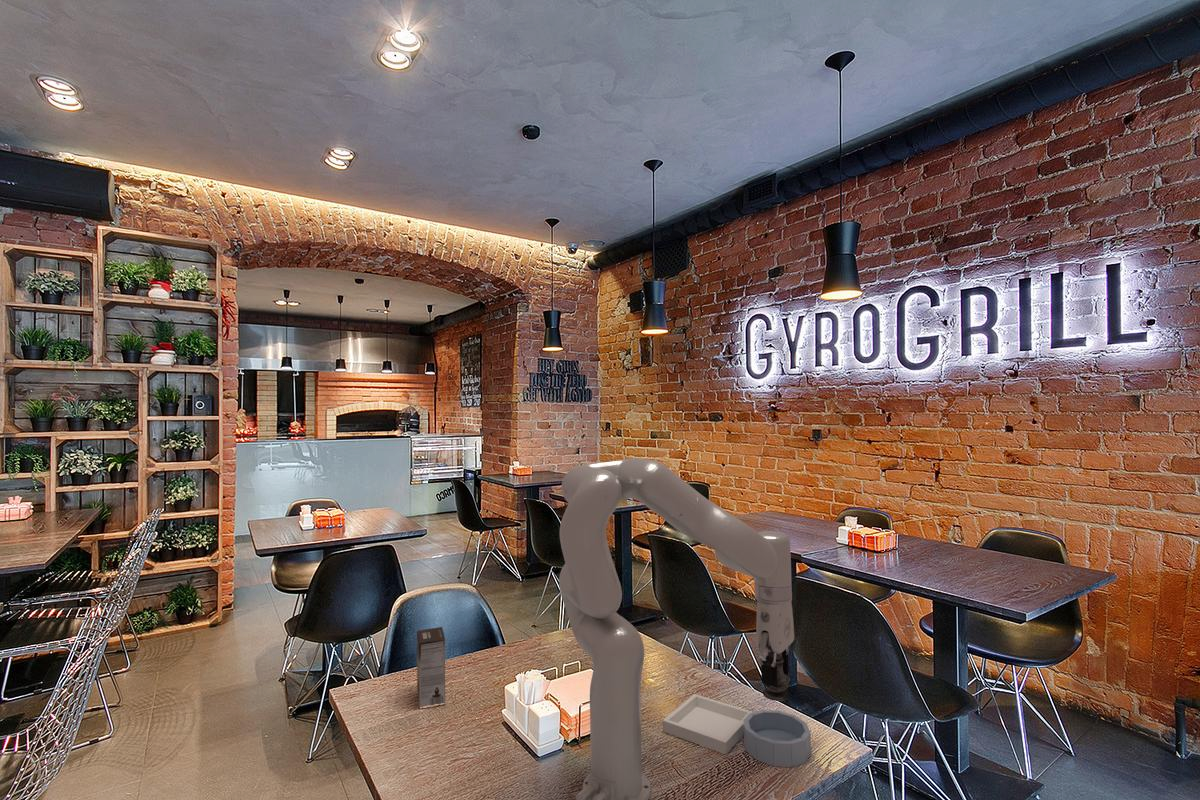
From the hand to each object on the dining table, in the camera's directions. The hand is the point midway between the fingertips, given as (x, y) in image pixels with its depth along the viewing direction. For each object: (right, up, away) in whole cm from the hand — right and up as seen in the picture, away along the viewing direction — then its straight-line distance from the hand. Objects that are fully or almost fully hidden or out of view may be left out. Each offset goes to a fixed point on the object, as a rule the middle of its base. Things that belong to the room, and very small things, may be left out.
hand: (775, 677), depth 120 cm
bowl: (0, -14, -1) cm, 14 cm away
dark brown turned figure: (0, -4, 0) cm, 4 cm away
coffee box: (-79, -17, +23) cm, 84 cm away
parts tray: (-12, -15, +8) cm, 21 cm away
